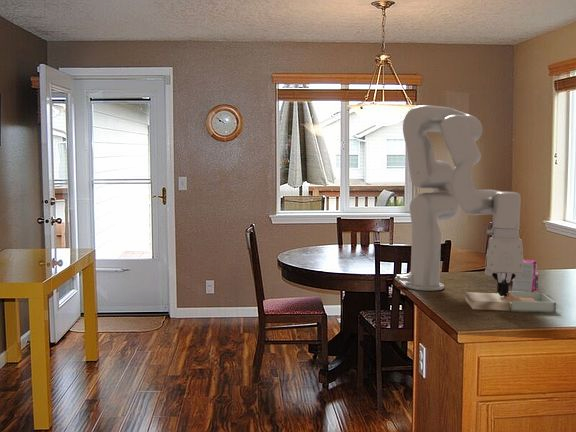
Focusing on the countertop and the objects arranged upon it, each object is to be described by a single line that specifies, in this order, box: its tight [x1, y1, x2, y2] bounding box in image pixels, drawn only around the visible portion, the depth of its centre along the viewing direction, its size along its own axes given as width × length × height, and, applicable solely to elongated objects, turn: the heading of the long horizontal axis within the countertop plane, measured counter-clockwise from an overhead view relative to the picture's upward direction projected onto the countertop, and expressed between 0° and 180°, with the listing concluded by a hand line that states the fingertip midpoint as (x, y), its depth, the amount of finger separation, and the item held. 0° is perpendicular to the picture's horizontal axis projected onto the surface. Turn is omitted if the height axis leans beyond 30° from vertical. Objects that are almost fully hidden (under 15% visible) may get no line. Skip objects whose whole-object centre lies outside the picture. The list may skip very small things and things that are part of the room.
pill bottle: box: [534, 264, 540, 292], centre depth 217 cm, size 5×5×9 cm
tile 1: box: [504, 292, 521, 302], centre depth 195 cm, size 4×4×2 cm
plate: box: [465, 291, 511, 312], centre depth 196 cm, size 10×12×2 cm
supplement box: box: [511, 258, 537, 292], centre depth 209 cm, size 6×6×12 cm
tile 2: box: [518, 297, 536, 302], centre depth 195 cm, size 4×4×2 cm
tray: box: [508, 290, 557, 314], centre depth 195 cm, size 12×14×3 cm
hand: (502, 295), depth 195 cm, fingers closed
